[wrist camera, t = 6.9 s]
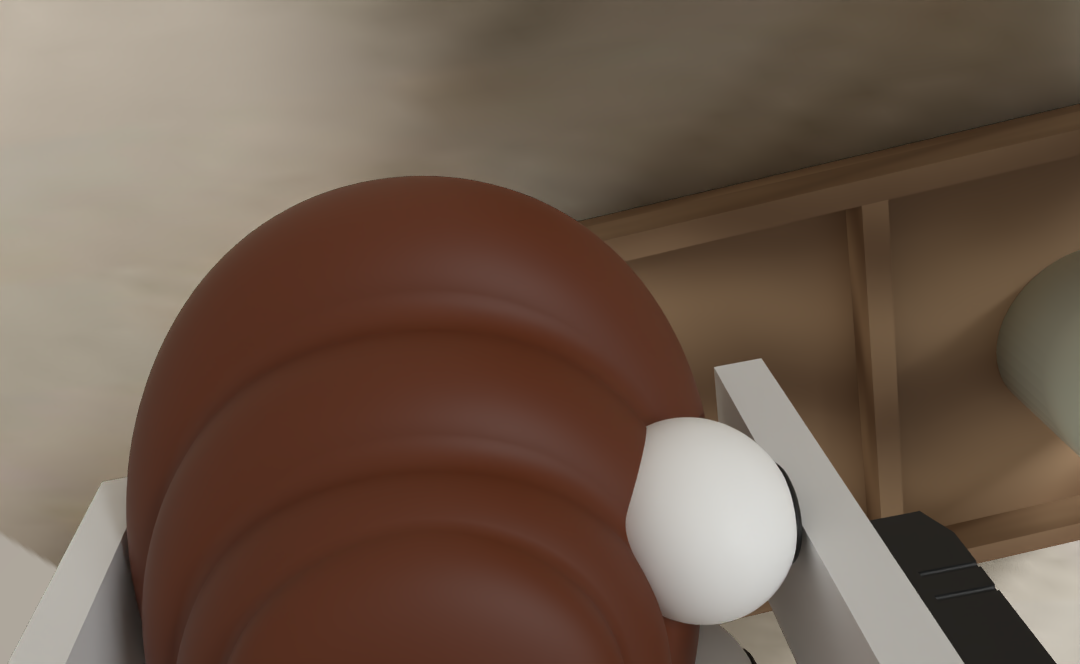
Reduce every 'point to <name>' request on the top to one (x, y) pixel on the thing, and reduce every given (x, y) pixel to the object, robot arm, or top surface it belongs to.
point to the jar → (1046, 348)
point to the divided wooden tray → (887, 315)
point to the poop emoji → (440, 451)
